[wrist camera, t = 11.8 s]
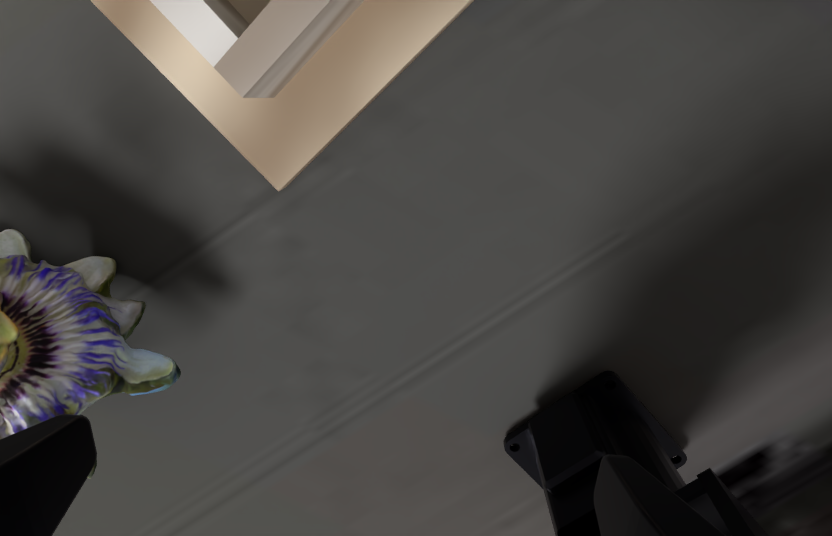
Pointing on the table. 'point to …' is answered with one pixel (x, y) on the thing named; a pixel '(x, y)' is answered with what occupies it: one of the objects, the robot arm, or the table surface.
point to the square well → (281, 64)
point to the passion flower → (66, 339)
